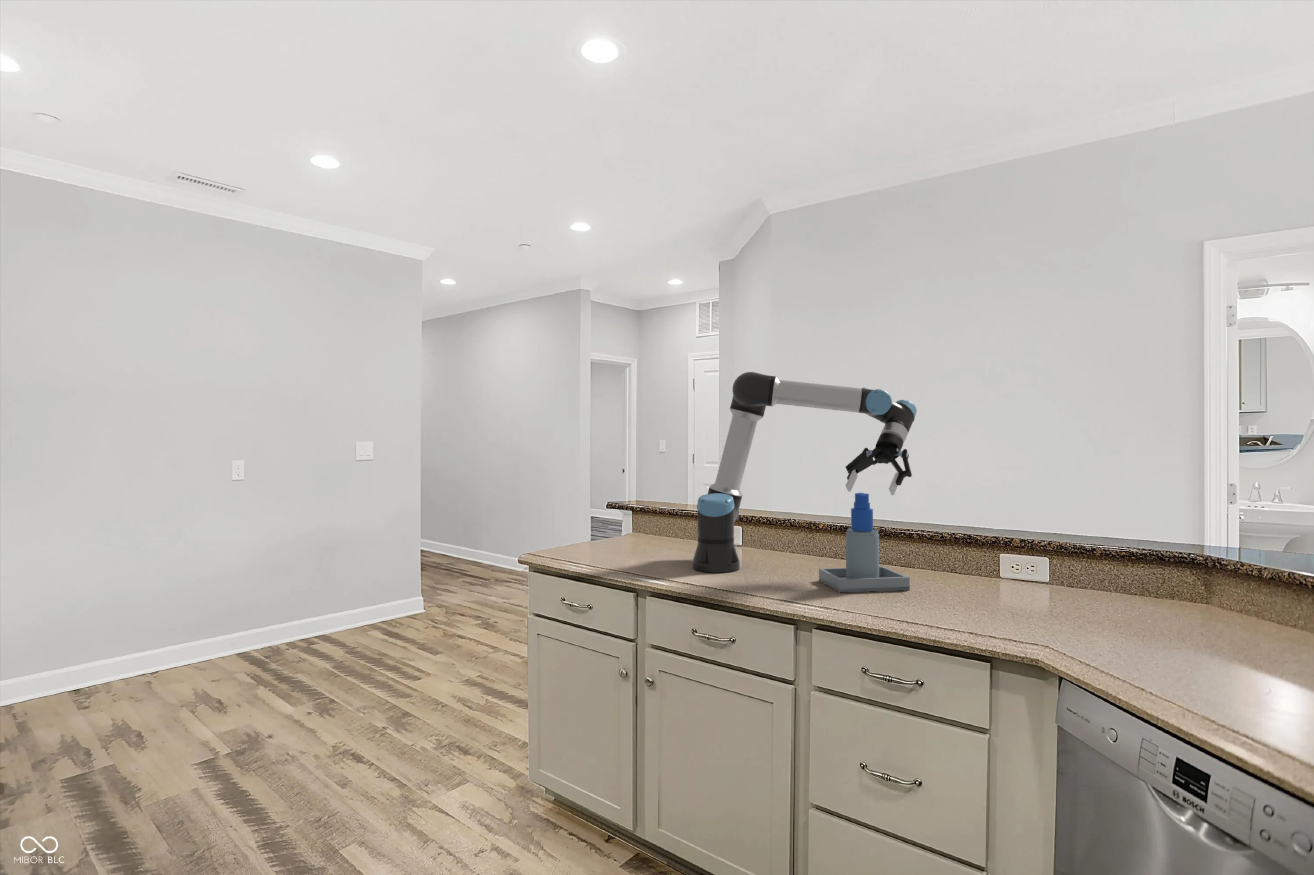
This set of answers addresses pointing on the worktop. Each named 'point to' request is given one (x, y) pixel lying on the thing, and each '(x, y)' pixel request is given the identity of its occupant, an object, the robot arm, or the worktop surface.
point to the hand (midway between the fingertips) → (869, 490)
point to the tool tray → (864, 581)
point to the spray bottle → (862, 541)
